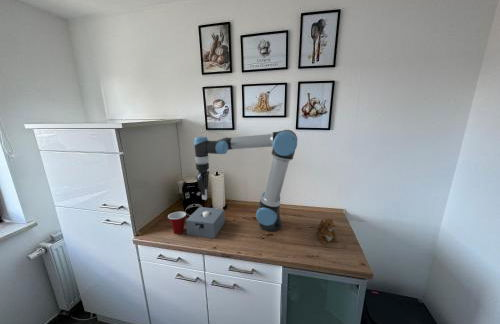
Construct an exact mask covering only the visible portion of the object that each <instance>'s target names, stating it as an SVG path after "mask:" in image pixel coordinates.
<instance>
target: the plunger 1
mask: <svg viewBox="0 0 500 324" xmlns="http://www.w3.org/2000/svg"><path fill="white" fill-rule="evenodd" d="M202 225H203V224H199V225H198V226H195V230H197V231H199V230H200V227H201V226H202Z"/></svg>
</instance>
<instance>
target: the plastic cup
mask: <svg viewBox="0 0 500 324" xmlns="http://www.w3.org/2000/svg"><path fill="white" fill-rule="evenodd" d="M186 216H187V213H186V211H174V212H172V213H169V214H168V215H167V219H168V220H169V221H170V225H171V228H172V231H173V233H174V235H181V234H182V233H183V232H184V230H185V229H184V228H185V223H186Z"/></svg>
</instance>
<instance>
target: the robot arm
mask: <svg viewBox="0 0 500 324" xmlns="http://www.w3.org/2000/svg"><path fill="white" fill-rule="evenodd" d="M193 140H194V141H193V143H194V155H195V157H194V158H195V169H196V170H197V171H198V176H196V180H197V184H198V189H199V191H201V199H202V200H205V201H206V200H207V199H208V191H207V190H208V189H209V177H210V176H209V175H210V171H209V169H210V164H209V154H211V155H213V154H214V155H216V154H217V155H226V154H227V153H228V151H231V150H242V149H257V148H260V149H261V148H271V147H272V150H271V156H272V157H273V158H272V162H271V166H270V171H269V174H268V179H267V182H266V187H265V191H263V192H262V194H261V197H260V200H259V205H258V208H257V210H256V213H255V217H256V220H257V221H258V226H259V228H260V229H261V230H263V231H265V232H277V231H279V230H281V229H282V227H283V223H282V222H283V221H282V219H281V215H280V213H281V211H280V209H281V208H280V207H281V193H282V189H283V185H284V181H285V178H286V174H287V171H288V167H289V163H290V161H292V160H293V159H294V156H295V153H296V150H297V148H298V147H297V146H298V136H297V134H296V132H295V131H293V130H291V129H284V130H279V131H273V132H272V133H267V134H258V135H257V134H255V135H246V136H245V135H244V136H234V137H223V138H221V139H220V138H219V139H218V140H208V137H207V136H196V137H195V138H194V139H193Z"/></svg>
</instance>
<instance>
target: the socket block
mask: <svg viewBox="0 0 500 324" xmlns="http://www.w3.org/2000/svg"><path fill="white" fill-rule="evenodd" d="M214 208H215V207H203V206H199V207H198V208H197V209H196V210H195V211H194V212H193V213H191V214H190V216H189V217H187V218H185V225H186V235H187V236H193V237H194V236H195V237H201V238H207V239H215V238H216V236H217V235H218V233H220V230H221V229H222V227H223V226H224V225H225V224H226V223H225V219H226V218H225V209H222V208H215V209H214ZM205 211H209V212H210V216H209V217H203V212H205ZM199 224H203V225H202V226H201V227H200V230H199V231H197V230H195V226H198V225H199Z"/></svg>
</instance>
